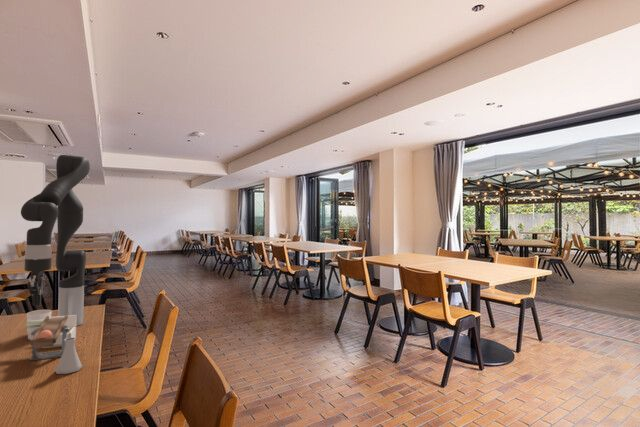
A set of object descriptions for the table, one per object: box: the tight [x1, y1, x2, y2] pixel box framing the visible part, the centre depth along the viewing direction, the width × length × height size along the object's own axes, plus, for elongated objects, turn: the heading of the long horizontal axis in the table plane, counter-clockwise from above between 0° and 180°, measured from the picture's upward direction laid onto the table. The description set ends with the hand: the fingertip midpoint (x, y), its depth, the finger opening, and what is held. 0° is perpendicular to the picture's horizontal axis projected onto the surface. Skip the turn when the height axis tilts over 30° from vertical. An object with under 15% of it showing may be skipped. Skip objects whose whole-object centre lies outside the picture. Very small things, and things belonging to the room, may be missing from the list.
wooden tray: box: [25, 314, 68, 349], centre depth 121 cm, size 18×12×3 cm, turn 25°
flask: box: [54, 337, 83, 375], centre depth 112 cm, size 7×7×10 cm
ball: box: [39, 330, 52, 338], centre depth 116 cm, size 4×4×4 cm
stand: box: [28, 326, 69, 362], centre depth 122 cm, size 5×11×10 cm, turn 115°
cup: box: [41, 315, 77, 349], centre depth 135 cm, size 10×9×9 cm
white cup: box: [26, 309, 53, 340], centre depth 140 cm, size 8×8×10 cm
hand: (36, 305), depth 126 cm, fingers closed
